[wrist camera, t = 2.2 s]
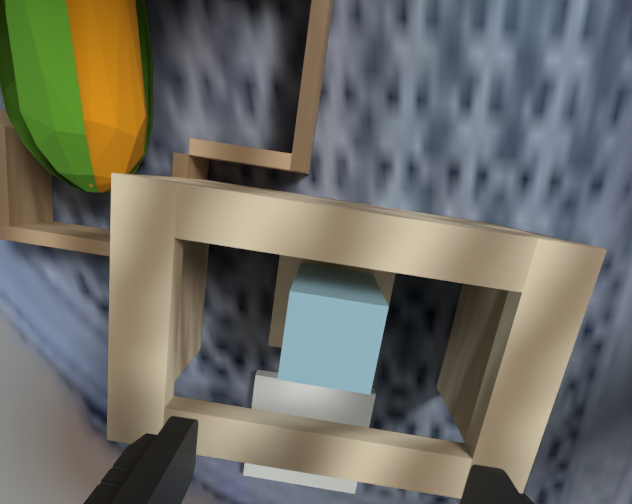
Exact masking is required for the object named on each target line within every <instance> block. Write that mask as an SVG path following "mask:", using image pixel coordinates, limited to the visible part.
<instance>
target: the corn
mask: <svg viewBox="0 0 632 504" xmlns="http://www.w3.org/2000/svg"><path fill="white" fill-rule="evenodd" d="M0 88H1V93H2V97H3V101H4V104H5V108H6V112H7V115H8V117H9V119H10V121H11V123H12V124H13V126H14V128H15V130H16V132H17V133H18V135H19V137H20V139H21V140H22V142H23V144H24V145H25V147H26V148H27V149H28V150H29V151H30V152H31V153H32V154H33V155H34V157H35V158H36V159H37V160H38V161H39V162H40V163H41V164H42V166H43V167H44V168H45V169H46V170H47V171H48V172H49V173H51V174H53V175H54V176H56V177H57V178H59V179H61V180H62V181H64V182H65V183H67V184H69V185H70V186H72V187H73V188H75V189H77V190H78V191H83V190H85V191H86V192H94V193H96V192H100V193H101V192H111V173H122V174H135V173H136V171H137V169H138V167H139V165H140V163H141V161H142V160H143V158H144V156H145V154H146V152H147V148H148V144H149V139H150V134H151V129H152V116H153V62H152V52H151V42H150V33H149V23H148V15H147V9H146V3H145V0H0ZM65 177H66V178H65ZM69 180H70V181H71V182H70V181H69ZM72 182H73V183H74V184H76V185H77V186H79V187H80V188H82V189H83V190H81V189H79V188H78V187H77V186H76V185H74V184H73V183H72Z"/></svg>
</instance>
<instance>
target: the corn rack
mask: <svg viewBox="0 0 632 504" xmlns="http://www.w3.org/2000/svg"><path fill="white" fill-rule="evenodd" d="M333 2H334V0H312V2H311V9H310V17H309V25H308V33H307V40H306V48H305V56H304V64H303V71H302V79H301V87H300V95H299V102H298V110H297V118H296V126H295V133H294V141H293V149H292V154H291V153H284V152H277V151H271V150H264V149H258V148H251V147H245V146H238V145H231V144H225V143H218V142H212V141H205V140H199V139H192V138H190V143H189V155H188V154H182V153H175V152H173V166H172V177H180V178H187V179H202V180H208V171H209V159H210V160H217V161H223V162H230V163H236V164H243V165H249V166H256V167H263V168H269V169H276V170H282V171H289V172H295V173H302V174H308V175H309V172H310V165H311V158H312V150H313V143H314V136H315V129H316V122H317V115H318V108H319V101H320V94H321V87H322V80H323V73H324V66H325V59H326V52H327V45H328V37H329V30H330V23H331V16H332V9H333ZM0 239H3V240H9V241H16V242H22V243H28V244H35V245H41V246H47V247H54V248H60V249H66V250H73V251H79V252H85V253H92V254H98V255H104V256H110V230H107V229H101V228H95V227H88V226H82V225H75V224H69V223H63V222H56V221H53V176H52V174H51V173H49V172H48V171H47V170H46V169H45V168H44V167H43V166H42V164H41V163H40V162H39V161H38V160H37V159H36V158H35V157H34V155H33V154H32V153H31V152H30V151H29V150H28V149H27V148H26V147H25V145H24V144H23V142H22V140H21V139H20V137H19V135H18V133H17V132H16V130H15V128H14V126H13V124H12V123H11V121H10V119H9V117H8V115H7V112H5V111H1V110H0Z"/></svg>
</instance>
